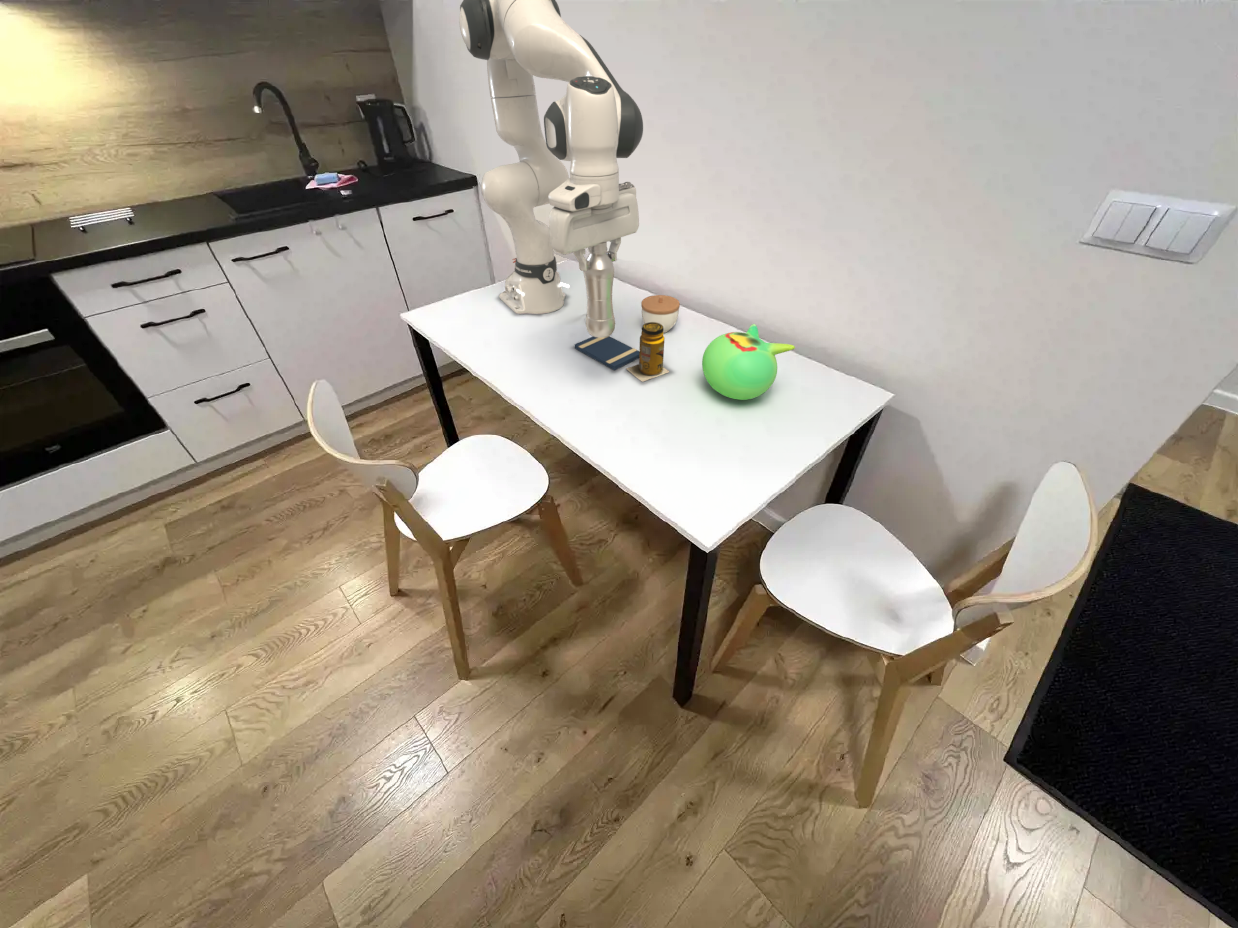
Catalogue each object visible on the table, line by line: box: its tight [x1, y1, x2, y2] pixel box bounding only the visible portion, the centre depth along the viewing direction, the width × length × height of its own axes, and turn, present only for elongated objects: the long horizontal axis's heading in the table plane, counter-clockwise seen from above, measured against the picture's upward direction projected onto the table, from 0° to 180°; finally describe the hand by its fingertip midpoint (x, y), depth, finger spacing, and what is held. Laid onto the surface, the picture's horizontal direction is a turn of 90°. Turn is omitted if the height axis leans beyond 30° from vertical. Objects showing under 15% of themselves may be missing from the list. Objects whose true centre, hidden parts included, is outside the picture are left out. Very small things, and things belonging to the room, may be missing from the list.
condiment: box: [625, 322, 670, 383], centre depth 121 cm, size 7×8×12 cm
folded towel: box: [574, 335, 640, 371], centre depth 132 cm, size 16×10×1 cm, turn 43°
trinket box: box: [640, 294, 681, 334], centre depth 139 cm, size 11×11×9 cm
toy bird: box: [701, 323, 796, 401], centre depth 113 cm, size 18×17×15 cm
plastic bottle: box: [582, 242, 616, 338], centre depth 103 cm, size 6×7×20 cm
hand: (598, 265), depth 100 cm, fingers closed on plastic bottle, 6 cm apart
